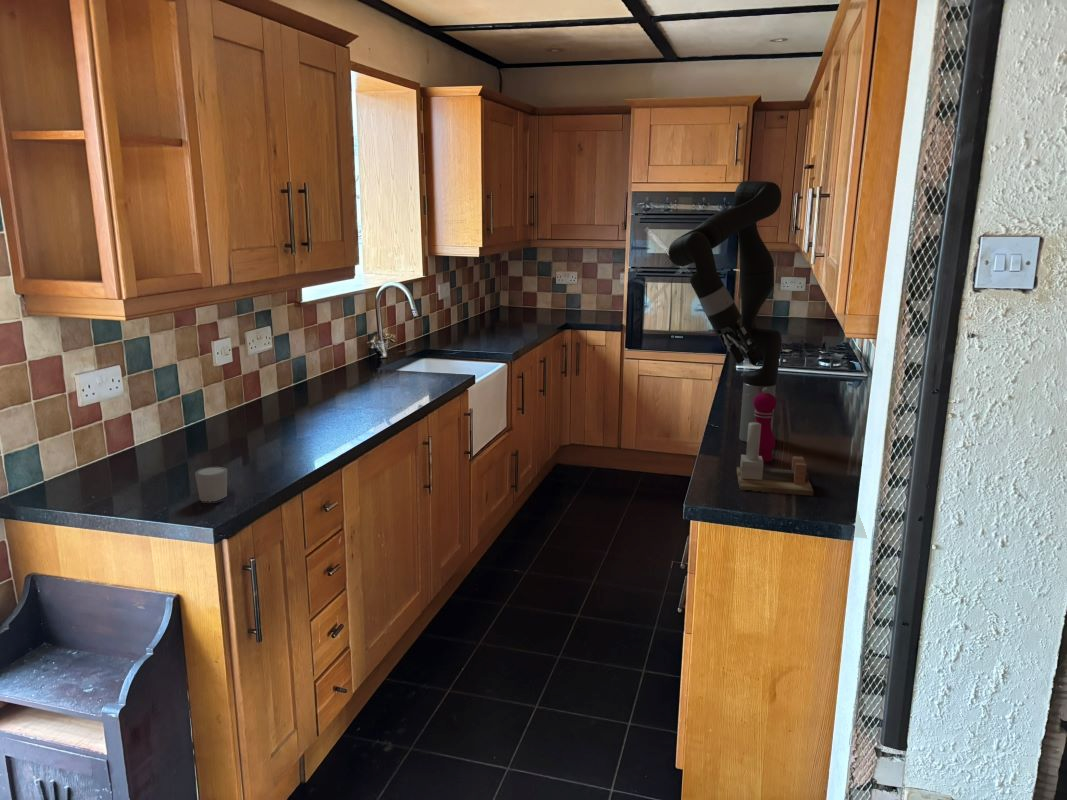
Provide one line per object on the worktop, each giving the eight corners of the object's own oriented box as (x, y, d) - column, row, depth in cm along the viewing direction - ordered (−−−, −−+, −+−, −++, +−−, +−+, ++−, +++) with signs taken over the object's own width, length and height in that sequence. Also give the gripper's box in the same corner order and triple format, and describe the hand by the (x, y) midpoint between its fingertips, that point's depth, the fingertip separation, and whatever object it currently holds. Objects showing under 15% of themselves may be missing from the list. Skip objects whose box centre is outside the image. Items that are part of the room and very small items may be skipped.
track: (736, 470, 204) (738, 448, 203) (804, 475, 201) (806, 452, 200) (739, 490, 190) (741, 465, 188) (813, 495, 187) (815, 470, 185)
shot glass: (211, 493, 183) (208, 464, 182) (236, 496, 181) (233, 467, 180) (190, 503, 177) (187, 473, 175) (216, 506, 175) (213, 477, 173)
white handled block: (739, 471, 199) (743, 420, 196) (760, 472, 198) (764, 421, 195) (741, 478, 194) (745, 426, 191) (762, 479, 193) (766, 427, 190)
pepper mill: (768, 454, 219) (774, 384, 214) (777, 462, 211) (784, 390, 207) (743, 454, 218) (748, 384, 214) (751, 462, 211) (757, 390, 207)
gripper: (744, 298, 189) (774, 356, 192) (719, 300, 203) (747, 354, 206) (719, 314, 188) (749, 372, 191) (695, 315, 202) (724, 368, 205)
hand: (748, 362), depth 199 cm, fingers open, 8 cm apart
